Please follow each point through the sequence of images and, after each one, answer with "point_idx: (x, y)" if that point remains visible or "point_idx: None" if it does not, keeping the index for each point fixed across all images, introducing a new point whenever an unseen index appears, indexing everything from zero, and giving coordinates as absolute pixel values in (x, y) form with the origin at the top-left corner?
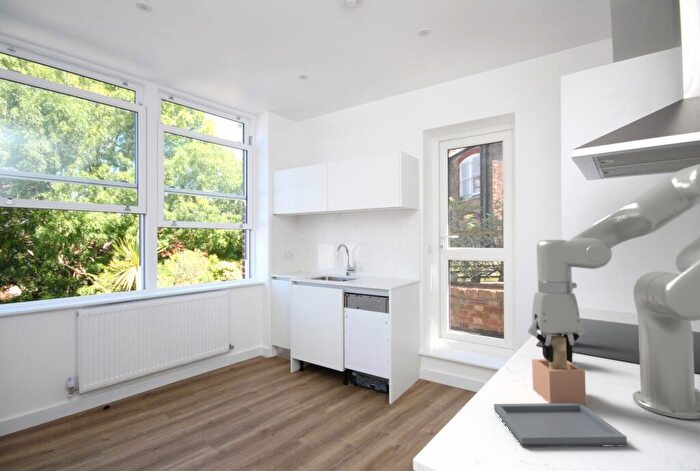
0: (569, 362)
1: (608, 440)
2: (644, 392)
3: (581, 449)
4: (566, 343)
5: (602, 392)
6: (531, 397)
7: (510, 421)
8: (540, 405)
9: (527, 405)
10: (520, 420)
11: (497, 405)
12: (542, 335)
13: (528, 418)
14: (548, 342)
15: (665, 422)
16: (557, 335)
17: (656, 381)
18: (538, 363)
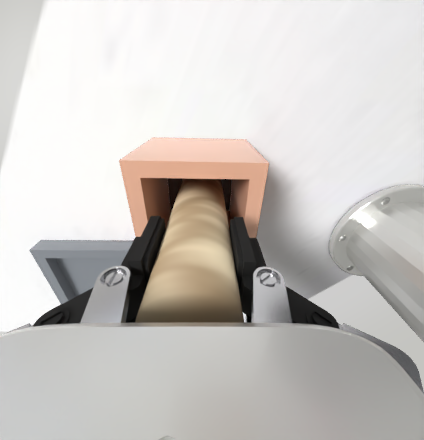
0: (258, 204)
1: None
2: (362, 244)
3: None
4: (240, 298)
5: (324, 165)
6: None
7: (60, 296)
8: (124, 257)
9: (98, 256)
10: (83, 275)
11: (37, 255)
12: (96, 318)
13: (98, 270)
14: (131, 320)
15: (312, 273)
16: (212, 310)
17: (382, 291)
18: (131, 209)
